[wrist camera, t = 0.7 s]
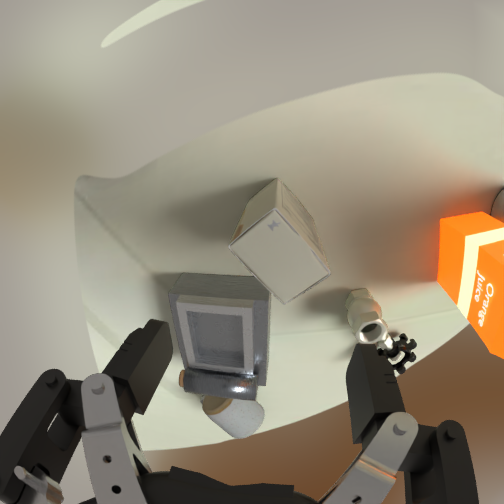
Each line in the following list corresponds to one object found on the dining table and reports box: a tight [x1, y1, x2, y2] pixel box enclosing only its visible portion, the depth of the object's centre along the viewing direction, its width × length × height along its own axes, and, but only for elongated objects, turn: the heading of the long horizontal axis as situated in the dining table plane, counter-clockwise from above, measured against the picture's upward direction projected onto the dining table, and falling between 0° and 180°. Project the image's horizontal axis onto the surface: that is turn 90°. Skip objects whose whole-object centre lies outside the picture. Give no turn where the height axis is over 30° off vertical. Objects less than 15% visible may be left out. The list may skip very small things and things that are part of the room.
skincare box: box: [228, 178, 330, 304], centre depth 24 cm, size 6×4×12 cm
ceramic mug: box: [200, 395, 265, 439], centre depth 39 cm, size 11×8×8 cm
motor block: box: [168, 273, 271, 401], centre depth 32 cm, size 11×14×9 cm
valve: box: [345, 288, 417, 374], centre depth 30 cm, size 7×7×12 cm
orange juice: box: [437, 212, 504, 359], centre depth 18 cm, size 8×9×20 cm
